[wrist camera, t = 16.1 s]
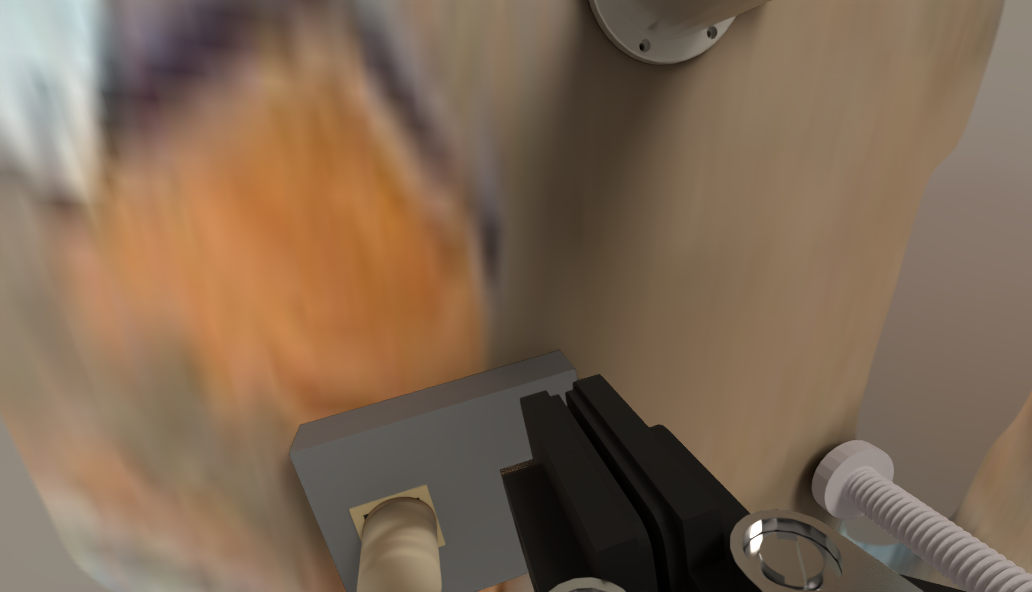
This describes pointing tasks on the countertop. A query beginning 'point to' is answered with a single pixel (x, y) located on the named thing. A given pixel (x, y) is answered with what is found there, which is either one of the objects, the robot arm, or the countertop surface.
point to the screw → (910, 519)
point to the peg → (400, 548)
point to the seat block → (431, 468)
